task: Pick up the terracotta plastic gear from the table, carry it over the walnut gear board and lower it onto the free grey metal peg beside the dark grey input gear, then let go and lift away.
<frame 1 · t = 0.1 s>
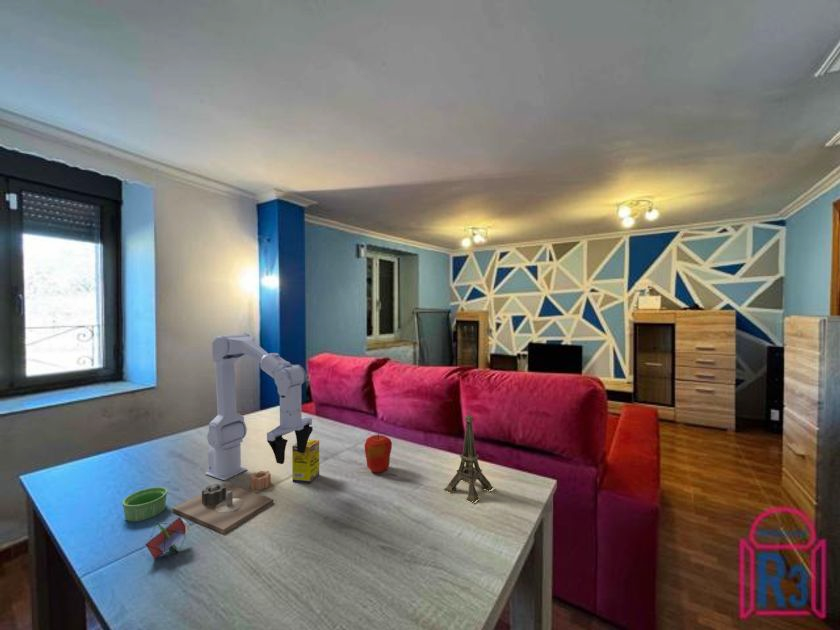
hand: (291, 457, 97), 10 cm above the table, tool pointing down, fingers open, 7 cm apart
gear: (260, 485, 101), on the table
gear board: (224, 507, 90), on the table
eiffel tower: (469, 490, 98), on the table
ramekin: (145, 513, 88), on the table
supplement box: (306, 478, 105), on the table
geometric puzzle: (167, 553, 73), on the table
apple: (378, 470, 110), on the table
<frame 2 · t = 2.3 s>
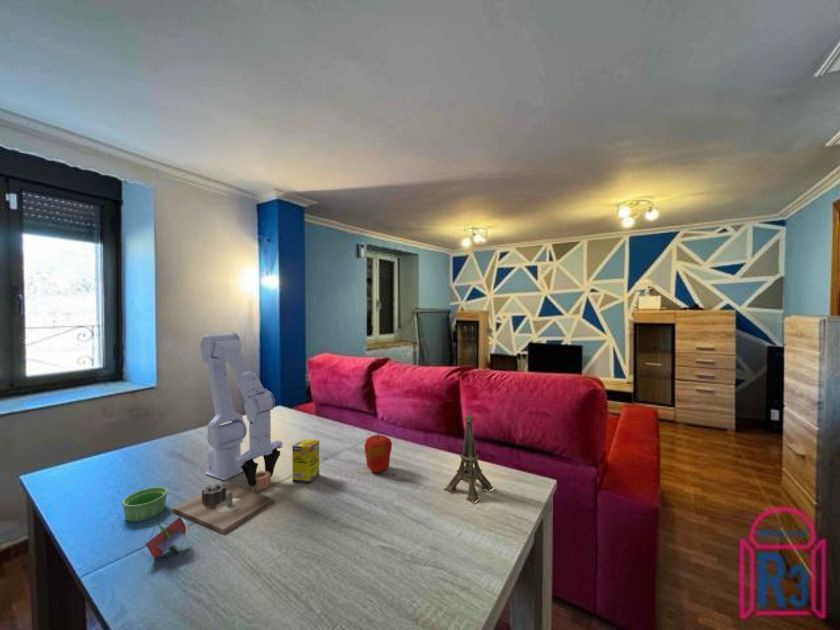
hand: (260, 480, 101), 1 cm above the table, tool pointing down, fingers closed on gear, 5 cm apart
gear: (260, 485, 101), on the table, touching gripper
everything else where it was.
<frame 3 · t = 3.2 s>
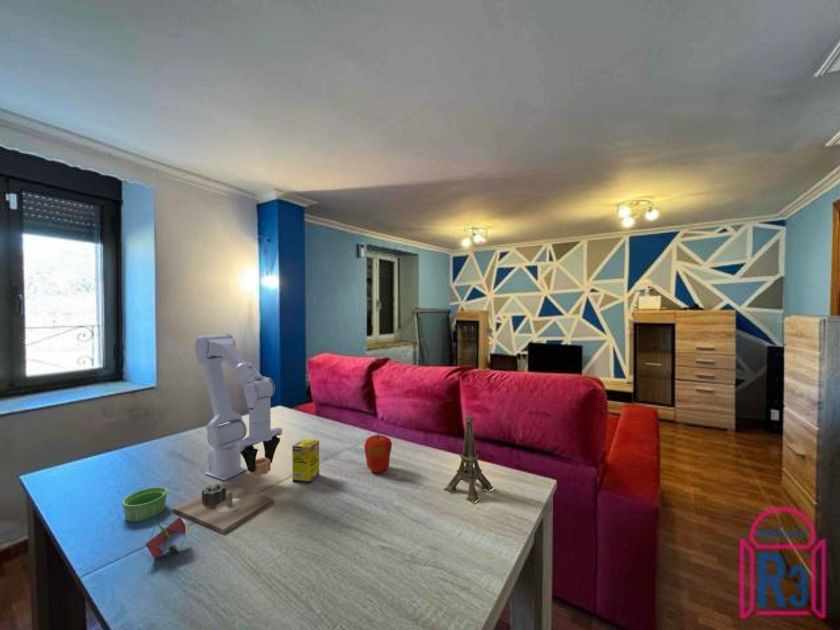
hand: (260, 466, 101), 5 cm above the table, tool pointing down, fingers closed on gear, 5 cm apart
gear: (260, 471, 101), point 4 cm above the table, touching gripper
everything else where it was.
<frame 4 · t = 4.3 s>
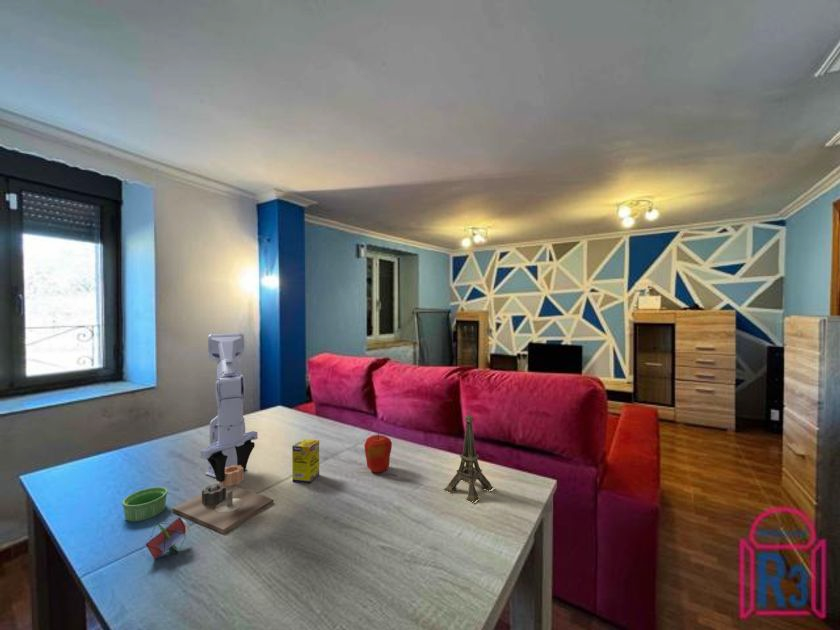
hand: (231, 475, 89), 8 cm above the table, tool pointing down, fingers closed on gear, 5 cm apart
gear: (231, 480, 89), point 7 cm above the table, touching gripper
everything else where it was.
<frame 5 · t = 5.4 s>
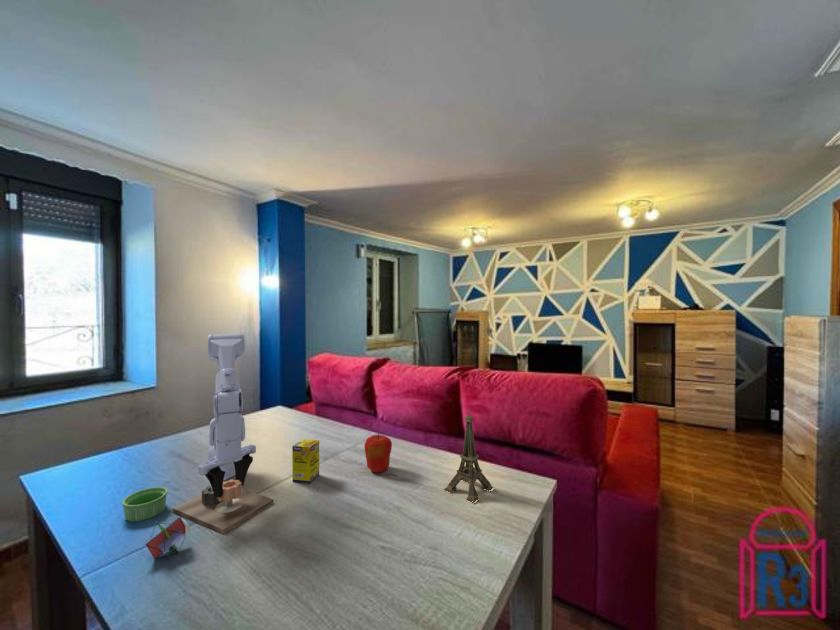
hand: (229, 490, 89), 5 cm above the table, tool pointing down, fingers closed on gear, 5 cm apart
gear: (229, 496, 89), point 4 cm above the table, touching gripper
everything else where it was.
when the fingers open (5 cm above the table, at t = 6.5 s): gear drops 2 cm, resting on gear board.
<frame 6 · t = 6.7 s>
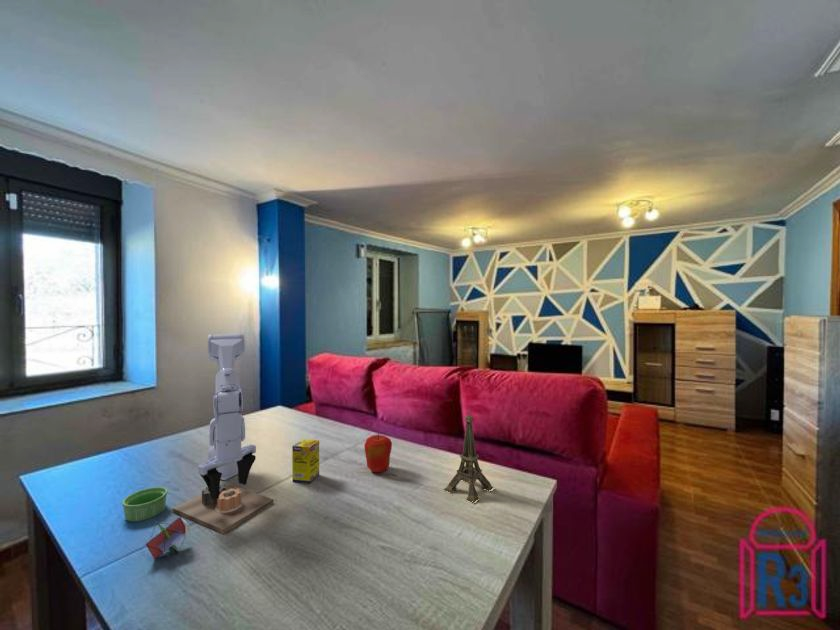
hand: (229, 490, 89), 5 cm above the table, tool pointing down, fingers open, 7 cm apart
gear: (229, 505, 89), point 1 cm above the table, touching gear board
everything else where it was.
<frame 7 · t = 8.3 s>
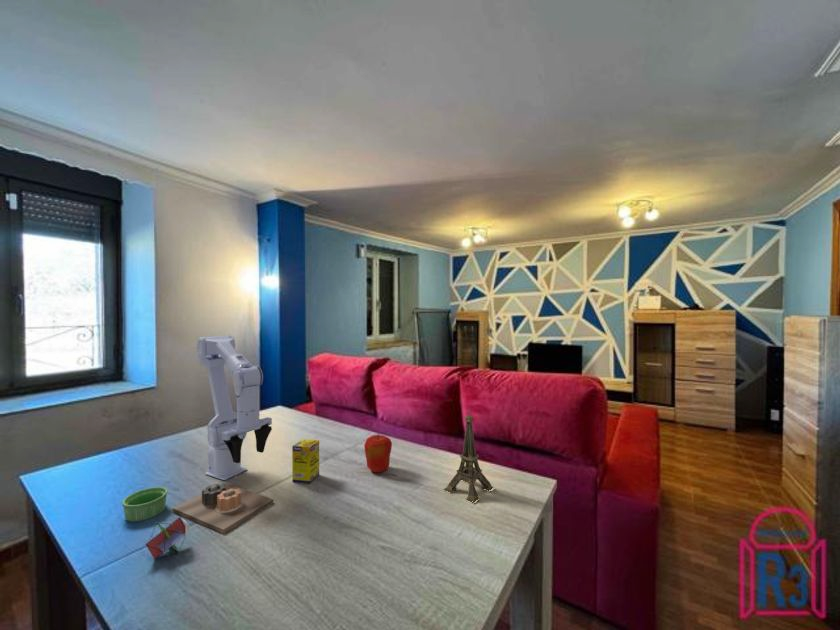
hand: (248, 456, 98), 9 cm above the table, tool pointing down, fingers open, 7 cm apart
nothing on the table moved.
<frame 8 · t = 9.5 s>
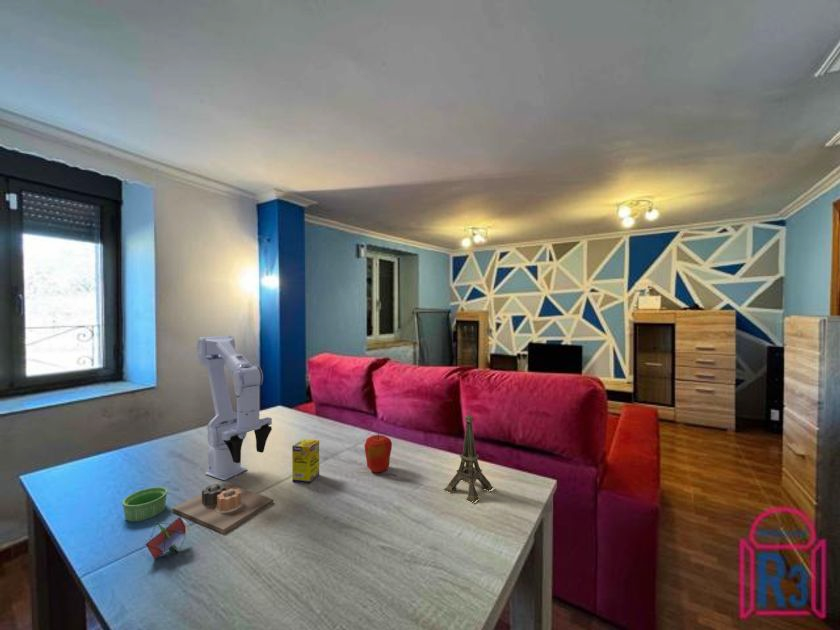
hand: (248, 456, 98), 9 cm above the table, tool pointing down, fingers open, 7 cm apart
nothing on the table moved.
at the end: gear 0.1 cm from the target spot on the gear board, point 1.1 cm above the gear board's base; gear tilted 0°; the gripper is holding nothing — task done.
